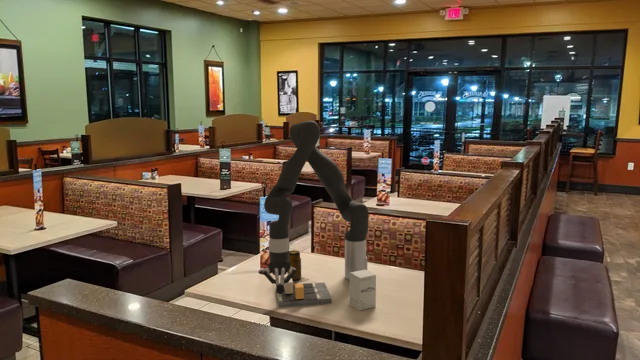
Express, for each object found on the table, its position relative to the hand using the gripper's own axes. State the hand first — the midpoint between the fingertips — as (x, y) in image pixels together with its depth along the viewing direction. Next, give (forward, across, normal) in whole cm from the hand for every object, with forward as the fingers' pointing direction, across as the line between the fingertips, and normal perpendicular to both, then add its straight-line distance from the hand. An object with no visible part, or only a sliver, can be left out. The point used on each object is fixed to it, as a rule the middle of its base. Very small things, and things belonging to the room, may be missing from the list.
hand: (279, 293), depth 183 cm
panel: (+4, -9, -6) cm, 12 cm away
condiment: (+4, -8, -26) cm, 28 cm away
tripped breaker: (+2, -7, 0) cm, 8 cm away
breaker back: (+2, -4, -12) cm, 13 cm away
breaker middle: (+2, -4, -6) cm, 7 cm away
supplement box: (+4, -30, +6) cm, 31 cm away
